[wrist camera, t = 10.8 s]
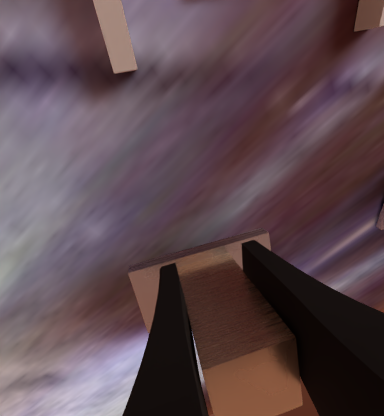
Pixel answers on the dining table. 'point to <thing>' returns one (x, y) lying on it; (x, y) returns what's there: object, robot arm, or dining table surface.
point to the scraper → (229, 327)
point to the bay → (122, 48)
